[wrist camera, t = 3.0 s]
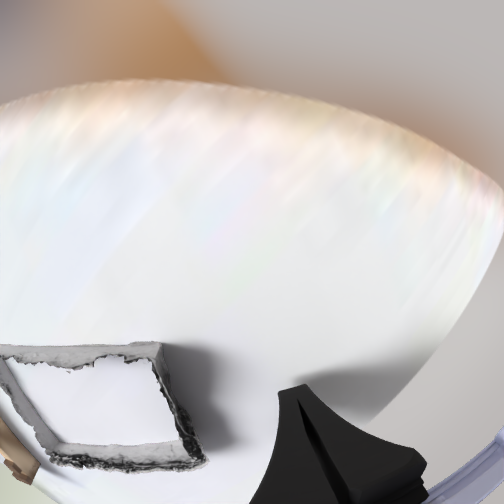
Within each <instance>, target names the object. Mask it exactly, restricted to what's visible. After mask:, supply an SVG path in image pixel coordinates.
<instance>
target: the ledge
mask: <svg viewBox="0 0 504 504" xmlns="http://www.w3.org/2000/svg"><path fill="white" fill-rule="evenodd" d="M0 453H1V454H2V455H3V456H4V458H5V461H4V464H5V465H6V466H7V467H8V468H9V469H10V470H11V471H13V474H12V475H13V476H14V477H15V478H16V479H17V480H19V481H22V482H24V483H26V484H29V485H31V484H32V482H33V479H34V477H35V475H36V473H37V471H38V468H39V466H40V463H39V462H38V461H37V460H36V459H35V458H34V457H33V456H32V455H31V454H30V452H29V451H28V450H27V449H26V448H25V447H24V446H23V445H22V444H21V442H20V441H19V440H18V439H17V438H16V437H15V435H14V434H13V433H12V432H11V430H10V429H9V428H8V427H7V425H6V424H5V423H4V421H3V420H2V419H1V417H0Z"/></svg>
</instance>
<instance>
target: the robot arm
mask: <svg viewBox="0 0 504 504" xmlns="http://www.w3.org/2000/svg"><path fill="white" fill-rule="evenodd" d="M278 397H279V423H278V430H277V436H276V441H275V446H274V449H273V453H272V456H271V459H270V462H269V465H268V468H267V470H266V473H265V475H264V477H263V479H262V481H261V483H260V485H259V487H258V489H257V491H256V493H255V494H254V496H253V498H252V499H251V501H250V503H249V504H479V503H480V502H481V501H482V500H483V499H484V498H486V497H487V496H488V495H489V494H490V493H491V492H492V491H493V490H494V489H495V488H497V487H498V486H499V485H500V484H501V483H502V481H504V426H503V427H502V428H501V429H500V431H499V432H498V433H497V435H496V437H495V439H494V440H493V441H492V442H491V443H490V444H489V445H488V446H486V447H485V448H484V449H483V450H482V451H481V452H480V453H478V454H477V455H476V456H475V457H474V458H473V459H471V460H470V461H469V462H467V463H466V464H465V465H464V466H462V467H461V468H460V469H458V470H457V471H456V472H454V473H453V474H451V475H450V476H449V477H447V478H446V479H444V480H443V481H441V482H440V483H438V484H437V485H436V486H434V487H432V488H431V489H429V490H427V491H426V489H425V488H424V486H423V483H424V481H423V480H422V478H421V475H422V474H423V472H424V470H425V468H426V466H427V462H426V461H425V459H424V458H423V457H422V456H421V455H420V454H419V453H418V452H417V451H416V450H415V449H414V448H410V447H405V446H401V445H397V444H394V443H391V442H388V441H385V440H382V439H380V438H377V437H375V436H373V435H370V434H368V433H366V432H364V431H362V430H360V429H359V428H357V427H355V426H354V425H352V424H350V423H349V422H347V421H346V420H344V419H343V418H341V417H340V416H339V415H337V414H336V413H335V412H334V411H332V410H331V409H330V408H329V407H328V406H326V405H325V404H324V403H323V402H322V401H321V400H320V399H319V398H318V397H317V396H316V395H315V394H314V393H313V392H312V391H311V389H310V388H309V387H308V386H307V385H306V384H303V385H300V386H296V387H293V388H289V389H286V390H282V391H279V392H278Z"/></svg>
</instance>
